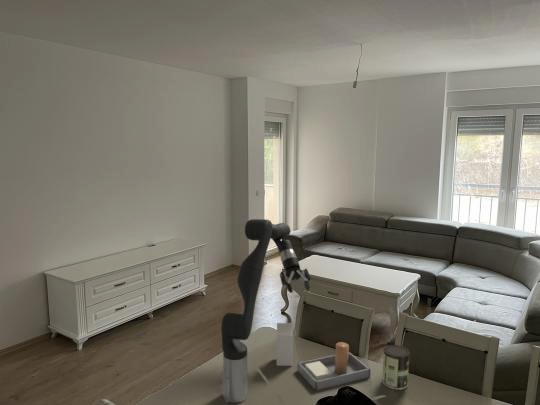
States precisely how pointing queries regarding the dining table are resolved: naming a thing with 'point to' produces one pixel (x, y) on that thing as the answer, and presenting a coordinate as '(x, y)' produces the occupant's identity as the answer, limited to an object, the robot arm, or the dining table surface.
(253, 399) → the dining table surface
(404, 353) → the coffee can
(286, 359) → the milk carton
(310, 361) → the tray
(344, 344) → the terracotta jar
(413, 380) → the dining table surface
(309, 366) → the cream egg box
